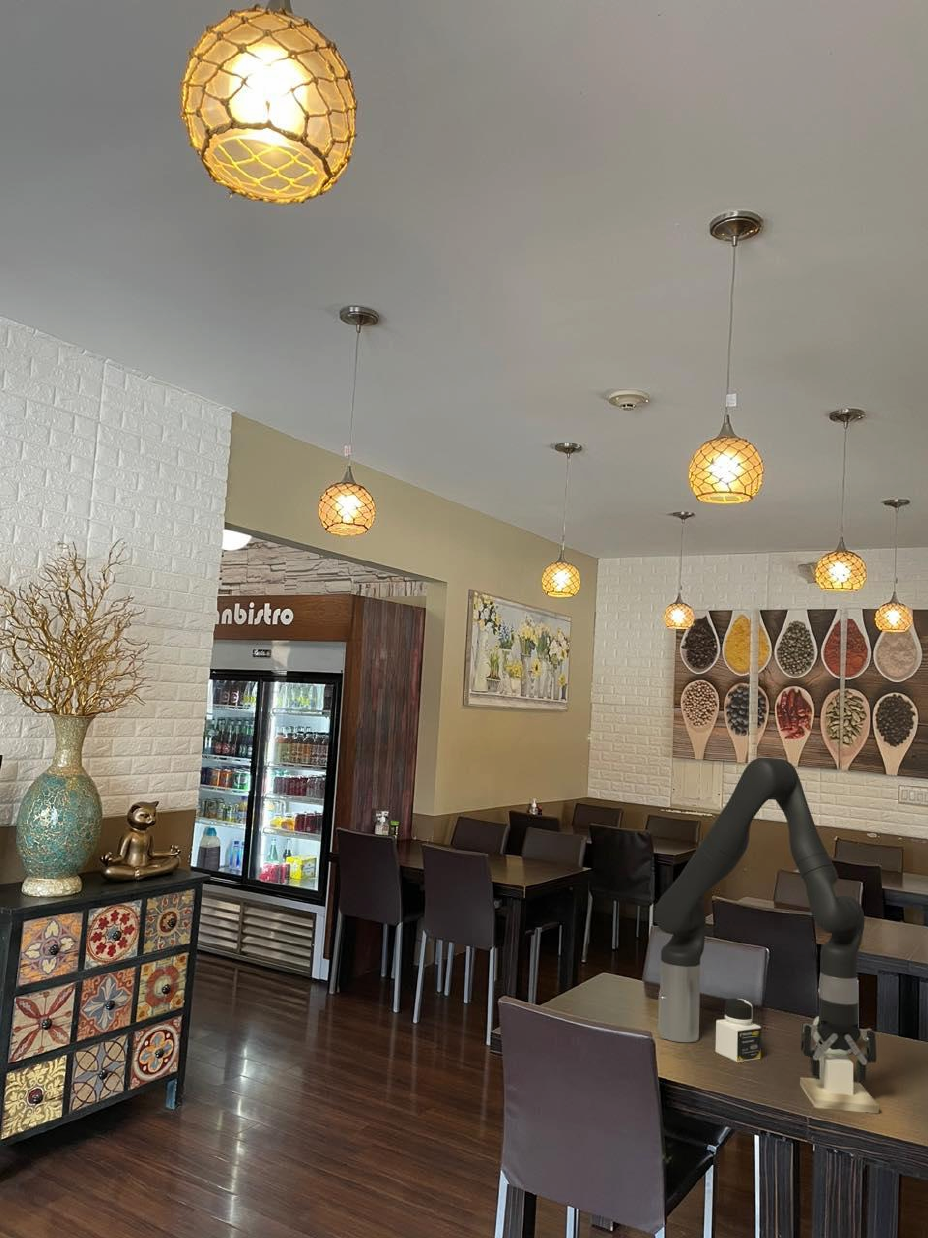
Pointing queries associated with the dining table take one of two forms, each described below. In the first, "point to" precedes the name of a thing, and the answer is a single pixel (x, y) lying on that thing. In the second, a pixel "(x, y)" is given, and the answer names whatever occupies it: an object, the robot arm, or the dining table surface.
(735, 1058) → the medicine bottle
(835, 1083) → the cream block
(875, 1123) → the dining table surface
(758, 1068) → the dining table surface
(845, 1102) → the beech board
